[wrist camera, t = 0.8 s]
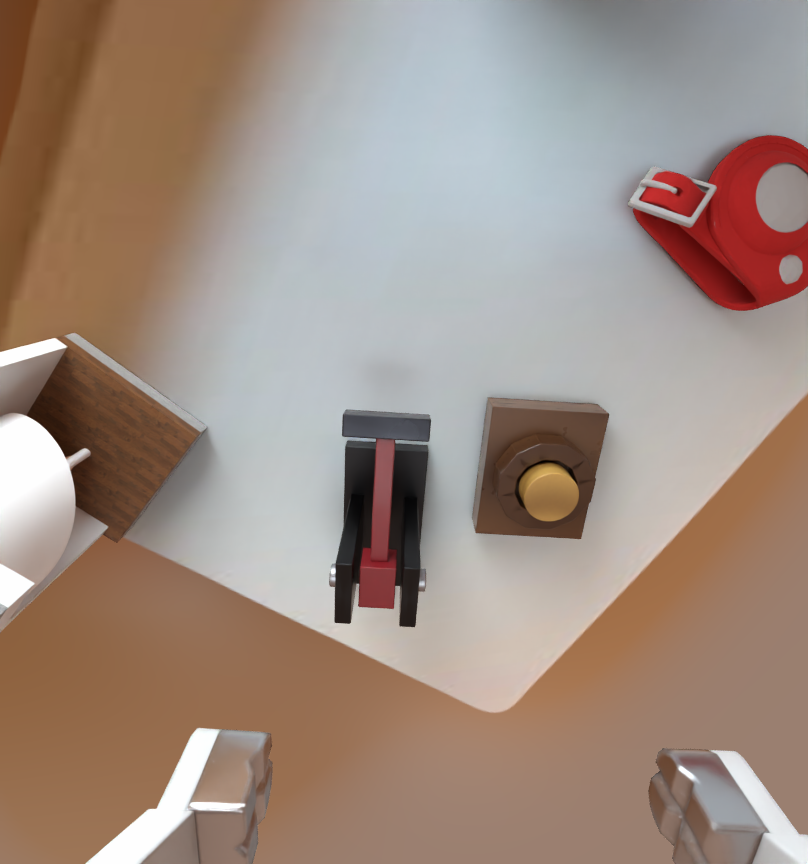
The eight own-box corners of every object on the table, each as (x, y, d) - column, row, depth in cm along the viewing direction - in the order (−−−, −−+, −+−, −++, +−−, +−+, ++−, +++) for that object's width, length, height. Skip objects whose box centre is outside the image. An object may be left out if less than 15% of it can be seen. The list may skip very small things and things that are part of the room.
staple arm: (346, 407, 29) (341, 416, 27) (429, 412, 29) (431, 422, 27) (340, 584, 32) (335, 606, 30) (415, 588, 32) (416, 610, 30)
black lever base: (347, 440, 36) (327, 506, 27) (427, 445, 36) (434, 512, 27) (344, 573, 40) (325, 669, 31) (416, 577, 40) (418, 674, 31)
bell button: (522, 460, 33) (528, 471, 31) (575, 463, 33) (584, 474, 31) (514, 507, 34) (520, 520, 32) (565, 510, 34) (573, 523, 32)
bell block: (487, 397, 35) (497, 415, 31) (597, 404, 35) (620, 423, 31) (471, 517, 38) (478, 547, 35) (571, 523, 39) (589, 553, 35)
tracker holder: (833, 99, 27) (873, 272, 28) (764, 141, 32) (801, 290, 33) (643, 158, 26) (693, 337, 27) (598, 194, 30) (642, 347, 31)
